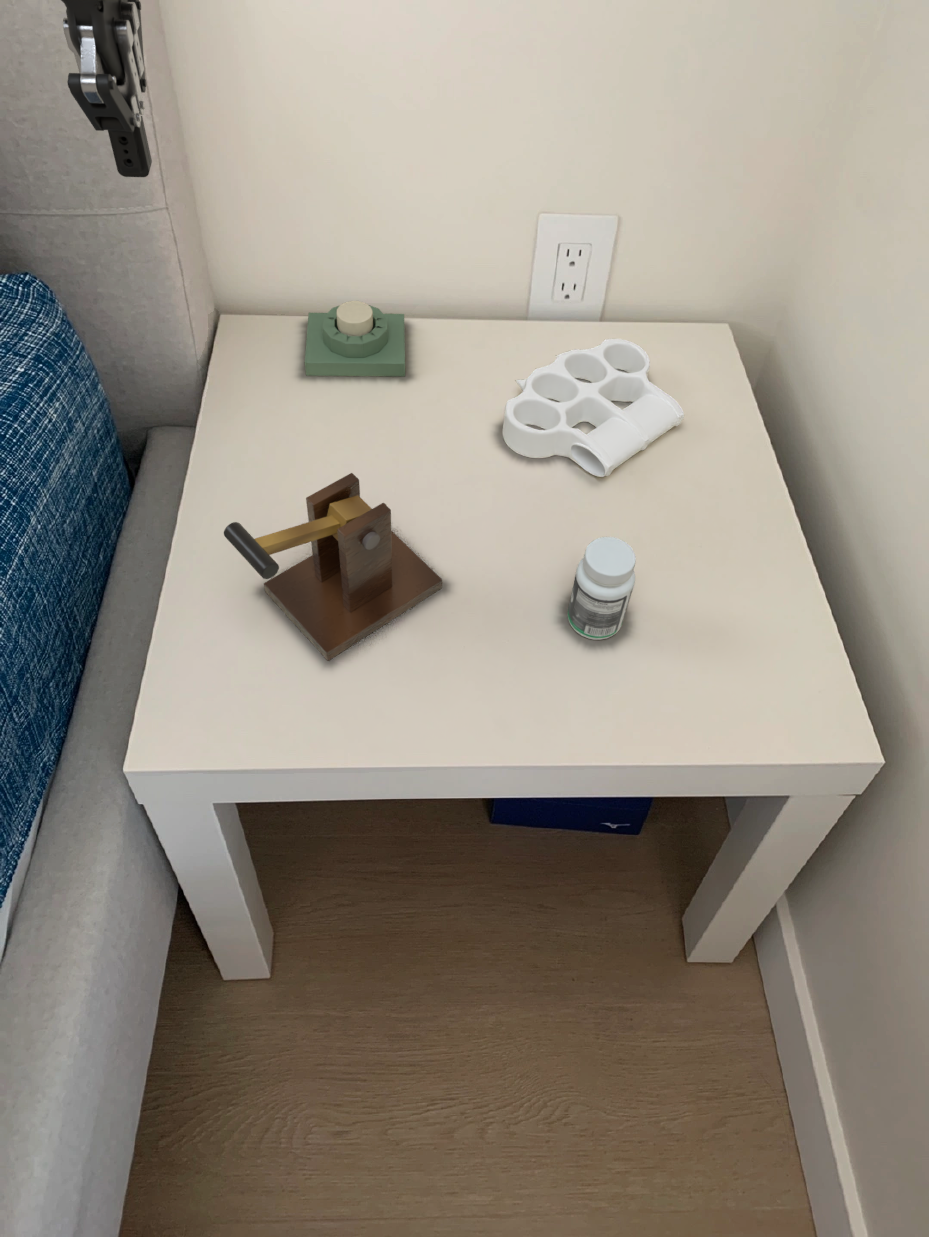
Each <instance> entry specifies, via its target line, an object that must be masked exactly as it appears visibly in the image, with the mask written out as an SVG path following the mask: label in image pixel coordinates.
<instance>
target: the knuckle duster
mask: <svg viewBox="0 0 929 1237" xmlns="http://www.w3.org/2000/svg"><path fill="white" fill-rule="evenodd" d="M650 368H651V360H650V356H649V354H648V353H647V351H646V350H645V349H644V348H642V347H641V346H640V345H638V344H637V343H635V342H633V341H630V340H627V339H624V338H605V339H604V340H603V341H602V342H601V343H600V344H599V345H596V346H594V347H591V348H583V349H581V348H580V349H579V348H574V349H571V350H568V351H565V352H562V353H559V354H558V355H557V354H555V360H554V361H553V362H551V363H549V364H548V365H544V366H541V367H536V368H534V370H533V371H532V372H531V373H530V374H529V375H528V377H526V378H524V379H514V381H515V382H516V384H517V385H518V386H519V388H520V389H521V391H522V392H521V393H520V394H519V395H517V396H516V397H512V398H508V400H507V401H506V403H505V407H504V415H503V424H502V438H503V440H504V443H505V444H506V446H507V447H508V448H510V450H512V452H514V453H516V454H518V455H520V456H523V457H526V458H530V459H545V458H550V457H553V456H559V457H565V458H568V459H570V460H571V461H573V462H574V463H576V464H577V465H578V466H579V467H581V468H582V469H583V470H584V471H586V472H587V473H589V474H591V475H593V476H595V477H598V478H603V477H608V476H610V475H611V474H612V472H613V471H614V470H616V468H618V467H619V466H621V465H622V464H623V463H625V462H627V461H628V460H629V459H631V458H632V457H633V456H635V455H636V454H637V453H639V452H640V451H645V450H646V449H647V448H648V445H650V444H651V443H653V442H654V441H656V440H657V439H659V438H660V437H661V436H662V435H664V434H665V433H667V432H668V431H670V430H671V429H672V428H674V427H678V426H679V425H681V423H682V421H683V420H684V418H685V412H684V409H683V408H682V407H681V405H680V403H679V402H678V401H677V400H676V399H675V398H674V397H673V396H671V395H670V394H669V393H666V391H664V390H663V389H661V388H660V387H659V386H658V385H656V384H654V383H653V382H651V381H650V380H649V377H648V375H649V372H650ZM621 370H622V371H621ZM579 379H581V380H586V381H587V382H585V381H581V380H579ZM613 402H621V403H626V402H627V403H628V402H629V403H630V404H629V405H627V406H626V407H624V408H623V409H622V408H621V407H619V406H617V405H616V404H615V403H613ZM582 422H583V423H584V422H585V423H589V424H591V425H592V426H594V427H595V428H594V429H592V430H590V431H589V432H588V433H587V434H586V433H585V432H584V431H582V430H581V429H579V428H575V426H577V425H578V424H579V423H582ZM529 425H532V426H535V427H538V428H541V429H537V428H533V427H531V426H529Z"/></svg>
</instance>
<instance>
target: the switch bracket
mask: <svg viewBox="0 0 929 1237" xmlns="http://www.w3.org/2000/svg"><path fill="white" fill-rule="evenodd" d="M357 495H358V496H359V497H360V498H361V487H360V479H359V478H358V477H357V476H356V475H355V474H354V473H353V472H350V473H348V474H347V475H345V476H343V477H341V478H339V479H337V480H336V481H333V482H332V483H330V484H328V485H327V486H325V487H323V488H321V489H320V490H318V491H316V492H314V493H312V494H310V495H308V496H307V497H306V498H305V502H306V512H307V519H308V522H311V521H314V520H317V519H320V518H324V517H327V513H328V509H329V504H330V503H333V502H337V501H340V500H343V499H347V498H350V497H353V496H357ZM337 533H338V541H337V540H336V539H335V538H334V537H333V536H332V535H330V536H327V537H324V538H321V539H318V540H314V541H311V542H310V544H311V552H312V553H311V554H312V555H310V556H308V557H307V558H305V559H303V560H301V561H300V562H298V563H296V564H295V565H292V566H291V567H289V568H288V569H286V570H284V571H283V572H281V573H279V574H278V575H277V574H276V575H275V576H273V577H272V578H270V579H268V580H267V581H265V582H264V583H263V588H264V592H265V594H266V595H267V596H268V597H269V598H270V599H271V600H272V601H273V602H274V603H275V605H276V606H277V607H278V608H279V609H280V611H282V612H283V613H284V615H285V616H286V617H288V620H290V621H291V623H293V625H295V627H297V629H298V630H299V631H300V632H301V633H302V634H303V636H305V638H306V639H307V640H308V641H309V642H310V643H311V644H312V646H314V648H315V649H316V650H317V651H318V652H319V653H320V655H322V656H323V657H324V659H325V660H326V661H330V660H332V659H333V658H335V657H337V656H338V655H340V654H342V653H343V652H344V651H346V650H348V649H349V648H351V647H352V646H354V645H356V644H357V643H358V642H360V641H361V640H363V639H365V638H366V637H368V636H369V635H372V633H374V632H375V631H377V630H379V629H381V628H382V627H384V626H385V625H387V624H388V623H390V622H391V621H393V620H395V619H396V618H398V617H399V616H401V615H402V614H404V613H406V612H407V611H409V610H410V609H413V607H415V606H416V605H418V604H419V603H421V602H422V601H423V602H424V600H426V599H427V598H429V597H430V596H432V595H433V594H435V593H437V592H438V591H440V590H441V589H442V588H443V579H442V578H441V577H440V576H439V575H438V574H437V573H436V572H435V571H434V570H433V569H432V568H431V567H430V566H429V565H428V564H427V563H426V562H425V561H424V560H423V559H421V558H420V557H419V556H418V555H417V554H416V553H415V552H414V551H413V549H411V548H410V547H409V546H408V545H407V544H406V543H405V542H404V541H403V540H402V539H401V538H400V537H398V535H396V534H395V533H394V532H393V531H392V509H391V508H390V507H389V506H387V504H386V503H384V502H382V503H380V504H378V505H376V506H375V507H373V508H372V509H371V510H369V511H368V512H366V513H364V514H363V515H361V516H359V517H357V518H356V519H354V520H352V521H350V522H349V523H347V524H345V525H343V526H342V527H340V528H338V529H337Z"/></svg>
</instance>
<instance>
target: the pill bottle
mask: <svg viewBox="0 0 929 1237" xmlns="http://www.w3.org/2000/svg"><path fill="white" fill-rule="evenodd" d="M636 557H637V556H636V553H635V551H634V549H633V547H632V546H631V545H630V544H629V543H627V541H625V540H623V539H620V538H618V537H615V536H602V537H597V538H595V539H593V540H592V541H591V542H590V543H588V545H587V546H586V548H585V551H584V554H583V557H582V558H581V559H580V561H579V562H578V564H577V567H576V570H575V574H574V580H573V585H572V588H571V594H570V598H569V603H568V607H567V621H568V623H569V625H570V626H571V628H572V629H573V630H574V631H575V632H576V633H577V634H578V635H579V636H582V637H583V638H586V639H589V640H596V641H599V640H606V639H609V638H612V637H613V636H614V635H616V634H617V633H618V632H619V631H620V630H621V629H622V625H623V624H624V620H625V617H626V613H627V609H628V607H629V602H630V599H631V597H632V593H633V590H634V588H635V584H636V573H635V566H636V563H637V562H636V560H637V558H636Z"/></svg>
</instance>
